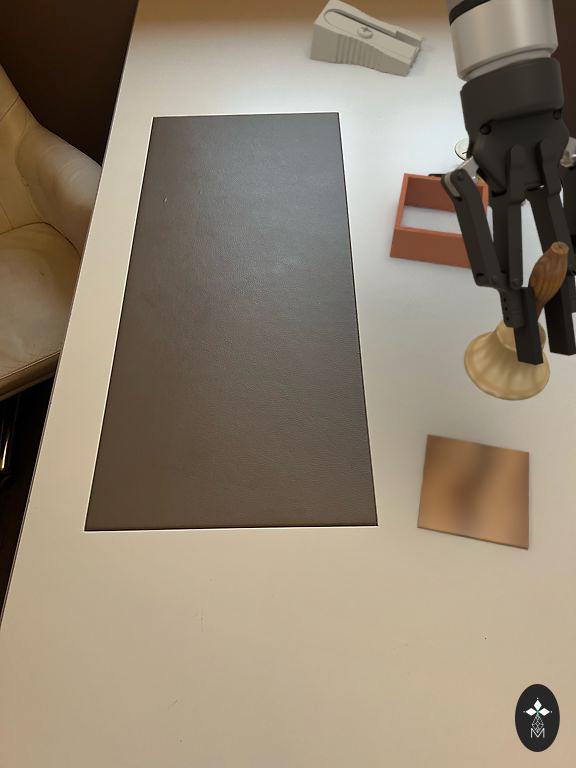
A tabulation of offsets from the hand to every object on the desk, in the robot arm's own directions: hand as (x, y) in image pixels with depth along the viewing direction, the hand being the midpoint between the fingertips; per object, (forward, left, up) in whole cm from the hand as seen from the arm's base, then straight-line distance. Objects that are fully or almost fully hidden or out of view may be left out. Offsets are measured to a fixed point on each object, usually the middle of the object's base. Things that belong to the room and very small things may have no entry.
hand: (546, 357), depth 54 cm
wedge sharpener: (+27, -90, -23) cm, 97 cm away
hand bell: (+2, -3, -7) cm, 8 cm away
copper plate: (+1, +2, -23) cm, 23 cm away
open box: (+9, -40, -23) cm, 47 cm away
